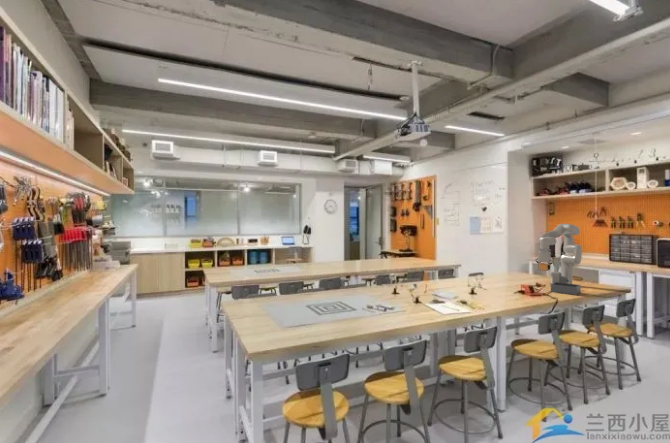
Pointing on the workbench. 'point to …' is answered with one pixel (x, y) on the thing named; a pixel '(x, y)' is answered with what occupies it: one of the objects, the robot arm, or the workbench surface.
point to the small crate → (543, 267)
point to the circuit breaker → (557, 278)
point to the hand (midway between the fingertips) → (544, 268)
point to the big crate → (566, 288)
